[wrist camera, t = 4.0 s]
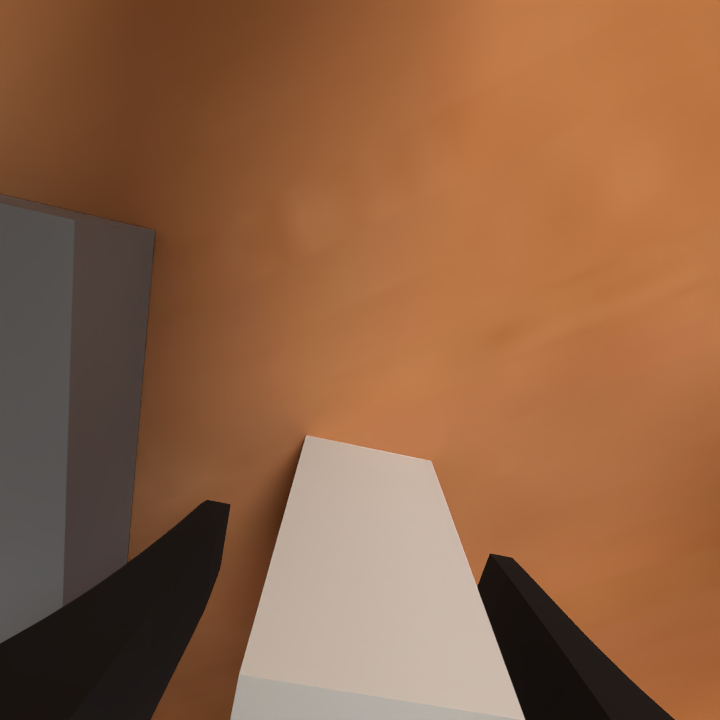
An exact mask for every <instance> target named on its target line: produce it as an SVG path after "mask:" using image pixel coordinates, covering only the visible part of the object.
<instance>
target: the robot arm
mask: <svg viewBox="0 0 720 720" xmlns="http://www.w3.org/2000/svg"><path fill="white" fill-rule="evenodd" d="M229 510H230V504H225V503H220V502H215V501H210V500H206V501H204V502H203V503H201V504H200V505H199V506H198V507H197V508H196V509H194V510H193V511H192V512H191V513H190V514H189V515H187V516H186V517H185V518H184V519H183V520H182V521H180V522H179V523H178V524H177V525H176V526H174V527H173V528H172V529H171V530H170V531H168V532H167V533H166V534H165V535H163V536H162V537H161V538H160V539H158V540H157V541H156V542H154V543H153V544H152V545H151V546H149V547H148V548H147V549H145V550H144V551H143V552H142V553H140V554H139V555H138V556H136V557H135V558H134V559H132V560H131V561H130V562H128V563H127V564H125V565H124V566H123V567H121V568H120V569H118V570H117V571H116V572H114V573H113V574H111V575H110V576H108V577H107V578H106V579H104V580H103V581H101V582H100V583H99V584H97V585H96V586H94V587H93V588H91V589H90V590H88V591H87V592H85V593H84V594H82V595H81V596H79V597H77V598H76V599H74V600H73V601H71V602H70V603H68V604H66V605H65V606H63V607H62V608H60V609H58V610H57V611H55V612H54V613H52V614H50V615H49V616H47V617H45V618H44V619H42V620H40V621H39V622H37V623H35V624H33V625H32V626H30V627H28V628H26V629H25V630H23V631H21V632H19V633H18V634H16V635H14V636H12V637H11V638H9V639H7V640H5V641H4V642H2V643H0V720H151V718H152V715H153V713H154V711H155V709H156V707H157V705H158V703H159V701H160V699H161V697H162V695H163V693H164V691H165V689H166V687H167V685H168V683H169V681H170V679H171V677H172V675H173V673H174V671H175V669H176V667H177V665H178V663H179V661H180V659H181V657H182V655H183V653H184V651H185V649H186V647H187V645H188V643H189V641H190V639H191V637H192V635H193V633H194V631H195V629H196V626H197V624H198V622H199V620H200V618H201V616H202V614H203V612H204V610H205V607H206V605H207V602H208V599H209V597H210V594H211V592H212V589H213V586H214V584H215V581H216V578H217V576H218V573H219V570H220V566H221V560H222V554H223V547H224V541H225V535H226V529H227V523H228V516H229ZM477 588H478V591H479V594H480V597H481V599H482V602H483V605H484V608H485V610H486V613H487V616H488V619H489V621H490V624H491V627H492V630H493V632H494V635H495V638H496V641H497V643H498V646H499V649H500V652H501V654H502V657H503V660H504V663H505V665H506V668H507V671H508V674H509V676H510V679H511V682H512V685H513V687H514V690H515V693H516V696H517V698H518V701H519V704H520V707H521V710H522V712H523V715H524V718H525V720H675V719H673V718H672V717H671V716H670V715H669V714H668V713H667V712H666V711H664V710H663V709H662V708H661V707H660V706H659V705H658V704H657V703H655V702H654V701H653V700H652V699H651V698H650V697H649V696H648V695H646V694H645V693H644V692H643V691H642V690H641V689H640V688H639V687H638V686H637V685H636V684H635V683H634V682H633V681H631V680H630V679H629V678H628V677H627V676H626V675H625V674H624V673H623V672H622V671H621V670H620V669H619V668H618V667H617V666H616V665H615V664H614V663H613V662H612V661H611V660H610V659H609V658H608V657H607V656H606V655H605V654H604V653H603V652H602V651H601V650H600V649H599V648H598V647H597V646H596V645H595V644H594V643H593V642H592V641H591V640H590V639H589V638H588V637H587V636H586V635H585V634H584V633H583V632H582V631H581V630H580V629H579V628H578V627H577V626H576V625H575V624H574V622H573V621H572V620H571V619H570V618H569V617H568V616H567V615H566V614H565V613H564V612H563V611H562V610H561V609H560V608H559V607H558V606H557V604H556V603H555V602H554V601H553V600H552V599H551V598H550V597H549V596H548V595H547V594H546V593H545V592H544V591H543V589H542V588H541V587H540V586H539V585H538V584H537V583H536V582H535V581H534V580H533V579H532V578H531V577H530V576H529V575H528V573H527V572H526V571H525V570H524V569H523V568H522V567H521V566H520V565H519V564H518V563H517V562H516V561H515V560H514V559H513V558H511V557H505V556H500V555H495V554H490V555H489V558H488V560H487V563H486V566H485V568H484V571H483V573H482V576H481V579H480V581H479V584H478V587H477Z"/></svg>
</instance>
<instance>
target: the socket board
mask: <svg viewBox="0 0 720 720" xmlns="http://www.w3.org/2000/svg"><path fill="white" fill-rule="evenodd" d="M154 237H155V230H152V229H148V228H144V227H140V226H135V225H131V224H127V223H122V222H118V221H114V220H109V219H105V218H101V217H97V216H92V215H88V214H84V213H79V212H75V211H71V210H66V209H62V208H58V207H54V206H49V205H45V204H41V203H36V202H32V201H28V200H23V199H19V198H15V197H11V196H6V195H2V194H0V643H2V642H4V641H5V640H7V639H9V638H11V637H12V636H14V635H16V634H18V633H19V632H21V631H23V630H25V629H26V628H28V627H30V626H32V625H33V624H35V623H37V622H39V621H40V620H42V619H44V618H45V617H47V616H49V615H50V614H52V613H54V612H55V611H57V610H58V609H60V608H62V607H63V606H65V605H66V604H68V603H70V602H71V601H73V600H74V599H76V598H77V597H79V596H81V595H82V594H84V593H85V592H87V591H88V590H90V589H91V588H93V587H94V586H96V585H97V584H99V583H100V582H101V581H103V580H104V579H106V578H107V577H108V576H110V575H111V574H113V573H114V572H116V571H117V570H118V569H120V568H121V567H123V566H124V565H125V564H127V559H128V547H129V535H130V524H131V512H132V500H133V488H134V476H135V464H136V452H137V440H138V428H139V416H140V404H141V392H142V380H143V368H144V357H145V345H146V333H147V321H148V309H149V297H150V285H151V273H152V261H153V249H154Z"/></svg>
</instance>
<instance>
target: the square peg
mask: <svg viewBox="0 0 720 720" xmlns="http://www.w3.org/2000/svg"><path fill="white" fill-rule="evenodd" d="M230 720H525V718H524V715H523V712H522V710H521V707H520V704H519V701H518V698H517V696H516V693H515V690H514V687H513V685H512V682H511V679H510V676H509V674H508V671H507V668H506V665H505V663H504V660H503V657H502V654H501V652H500V649H499V646H498V643H497V641H496V638H495V635H494V632H493V630H492V627H491V624H490V621H489V619H488V616H487V613H486V610H485V608H484V605H483V602H482V599H481V597H480V594H479V591H478V588H477V586H476V583H475V580H474V577H473V575H472V572H471V569H470V566H469V564H468V561H467V558H466V555H465V553H464V550H463V547H462V544H461V542H460V539H459V536H458V533H457V531H456V528H455V525H454V522H453V520H452V517H451V514H450V511H449V509H448V506H447V503H446V500H445V497H444V495H443V492H442V489H441V486H440V484H439V481H438V478H437V475H436V473H435V470H434V467H433V464H432V462H431V461H429V460H424V459H420V458H415V457H410V456H405V455H400V454H395V453H390V452H385V451H381V450H376V449H371V448H366V447H361V446H356V445H351V444H346V443H342V442H337V441H332V440H327V439H322V438H317V437H312V436H307V435H306V437H305V441H304V444H303V448H302V452H301V455H300V459H299V462H298V466H297V469H296V473H295V477H294V480H293V484H292V487H291V491H290V494H289V498H288V502H287V505H286V509H285V512H284V516H283V520H282V523H281V527H280V530H279V534H278V537H277V541H276V545H275V548H274V552H273V555H272V559H271V562H270V566H269V570H268V573H267V577H266V580H265V584H264V587H263V591H262V595H261V598H260V602H259V605H258V609H257V612H256V616H255V620H254V623H253V627H252V630H251V634H250V637H249V641H248V645H247V648H246V652H245V655H244V659H243V662H242V666H241V670H240V673H239V678H238V683H237V688H236V693H235V698H234V703H233V708H232V713H231V718H230Z"/></svg>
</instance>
